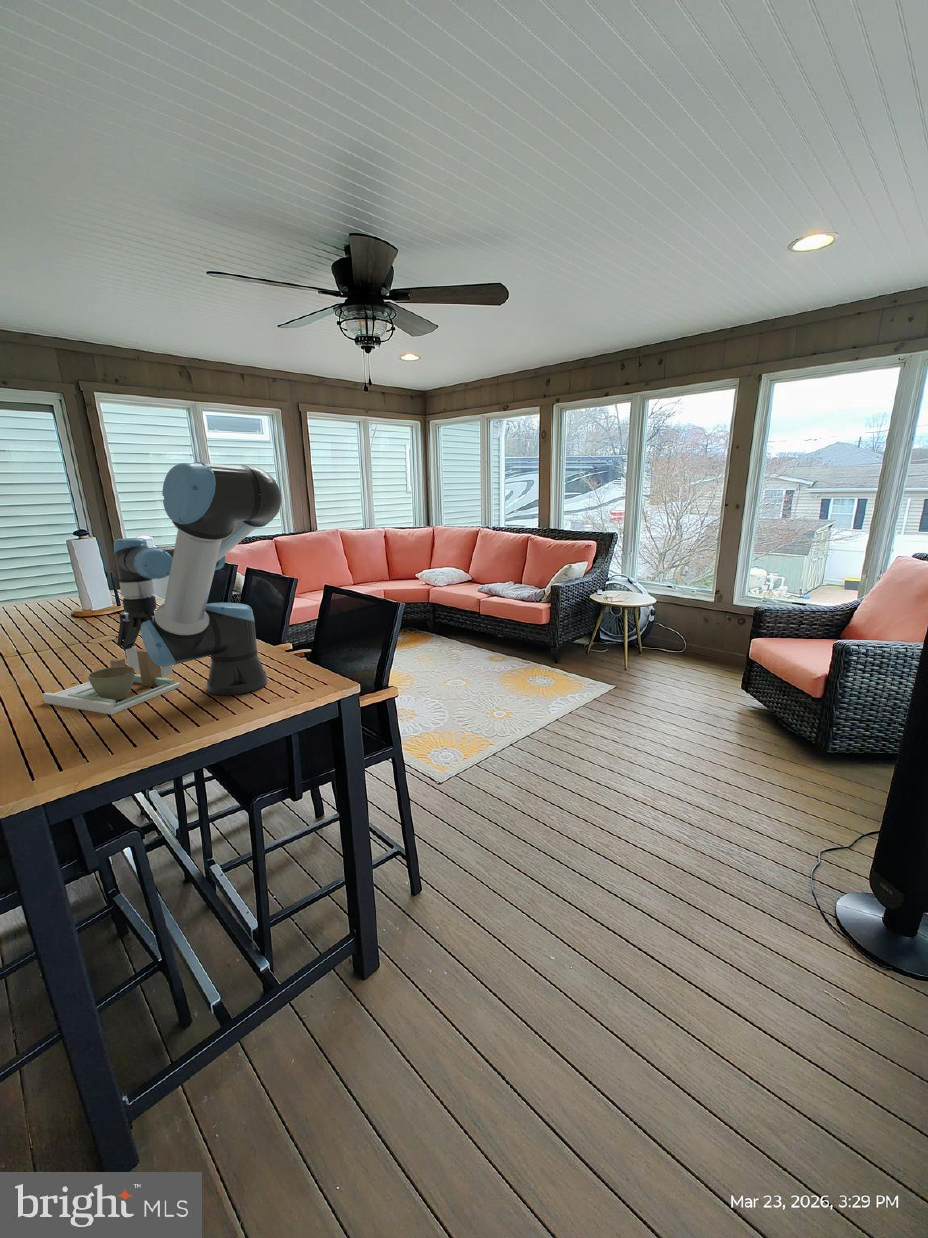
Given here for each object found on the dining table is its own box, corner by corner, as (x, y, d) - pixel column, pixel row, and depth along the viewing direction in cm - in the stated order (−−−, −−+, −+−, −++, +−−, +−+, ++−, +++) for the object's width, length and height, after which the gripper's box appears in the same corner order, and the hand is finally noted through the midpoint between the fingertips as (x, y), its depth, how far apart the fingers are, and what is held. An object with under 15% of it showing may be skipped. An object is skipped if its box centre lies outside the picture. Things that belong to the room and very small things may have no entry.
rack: (181, 686, 140) (180, 677, 139) (111, 714, 122) (109, 704, 121) (114, 676, 148) (112, 668, 147) (39, 702, 130) (37, 693, 129)
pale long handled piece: (129, 678, 146) (126, 658, 145) (61, 702, 129) (57, 680, 128) (119, 677, 148) (116, 657, 146) (51, 700, 130) (46, 678, 129)
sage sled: (178, 684, 141) (173, 650, 139) (112, 711, 123) (105, 672, 121) (138, 679, 146) (133, 645, 144) (69, 704, 128) (61, 666, 126)
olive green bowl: (115, 706, 126) (111, 679, 125) (82, 704, 128) (77, 677, 127) (147, 692, 136) (143, 666, 134) (116, 689, 138) (111, 664, 136)
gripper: (184, 596, 136) (195, 672, 141) (119, 591, 143) (131, 664, 148) (160, 601, 129) (172, 681, 134) (93, 596, 136) (106, 672, 141)
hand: (150, 672), depth 141 cm, fingers open, 12 cm apart
